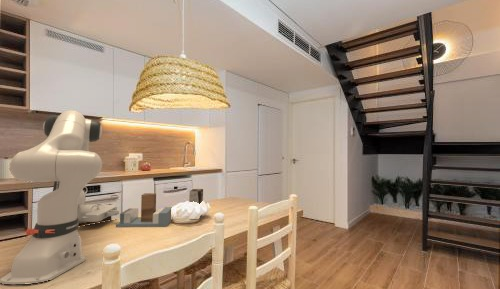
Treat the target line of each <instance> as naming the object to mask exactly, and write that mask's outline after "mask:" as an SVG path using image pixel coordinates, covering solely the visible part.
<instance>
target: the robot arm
mask: <svg viewBox="0 0 500 289" xmlns="http://www.w3.org/2000/svg"><path fill="white" fill-rule="evenodd" d="M42 129H43V131H44V135H45V136H46V137H47V138H46V139H45V140H43V141H42V142H41V143H39V144H37V145H36V146H33V147H32V148H29V149H26V150H22V151H20V152H17V153H16V154H14V156H13V157H12V159H11V160H10V163H9V171H10V173H11V175H12V177H13V178H14V179H16V180H17V181H21V182H32V183H45V182H47V183H49V182H54V183H53V186H52V187H53V188H52V189H53V190H52V191H50V192H48V193H46V194H44V195H43V196H41V197H40V198H39V200H38V202H37V210H36V212H37V213H36V215H37V217H36V218H37V221H36V223H35V225H34V227H33V228H27V229H26V230H25V235H26V236H29V235H31V238H30V240H28V242H27V243H26V244H25V245H24V247H22V248H21V250H20V251H19V252H18V253H17V255H16V256H15V257H14V258H13V260H12V267H11V271H10V272H8V273H7V274H5V275H4V276H3V277H2V278H0V284H1V283H2V284H1V285H4V284H25V283H38V282H43V281H47V282H49V281H48V280H50V281H51V280H53V279H55V278H56V277H58V276H60V275H62V274H64V273H65V272H67V271H69V270H71V269H73V268H75V267H76V266H78V265H80V264H81V263H83V262H85V261H86V256H84V255H83V247H82V237H81V236H80V233H79V232H78V229H79V224H80V222H81V223H96V222H97V223H98V222H101V221H102V220H105V219H106V218H108V217H113V216H117V215H120V211H119V210H118V206H117V205H114V204H113V205H112V204H102V203H97V204H86V193H85V190H84V188H85V187H86V185H88V183H89V182H91V181H92V180H93V179H95V178H97V177H98V176H99V174H100V173H101V170H102V168H103V162H102V161H103V160H102V158H101V156H99V154H98V153H97V152H93V151H90V150H89V149H90V143H92V142H98V141H99V140H100V139H101V137H102V135H103V126H102V123H101V122H100V121H99V120H96V119H90V118H89V119H88V118H85V116H84V115H83V114H82V113H81V112H80V111H78V110H71V109H68V110H65V111H63V112H61V114H59V115H56V114H54V115H49V116H48V117H46V118H45V121H44V122H43V124H42ZM43 283H44V282H43ZM38 284H39V283H38Z"/></svg>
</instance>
